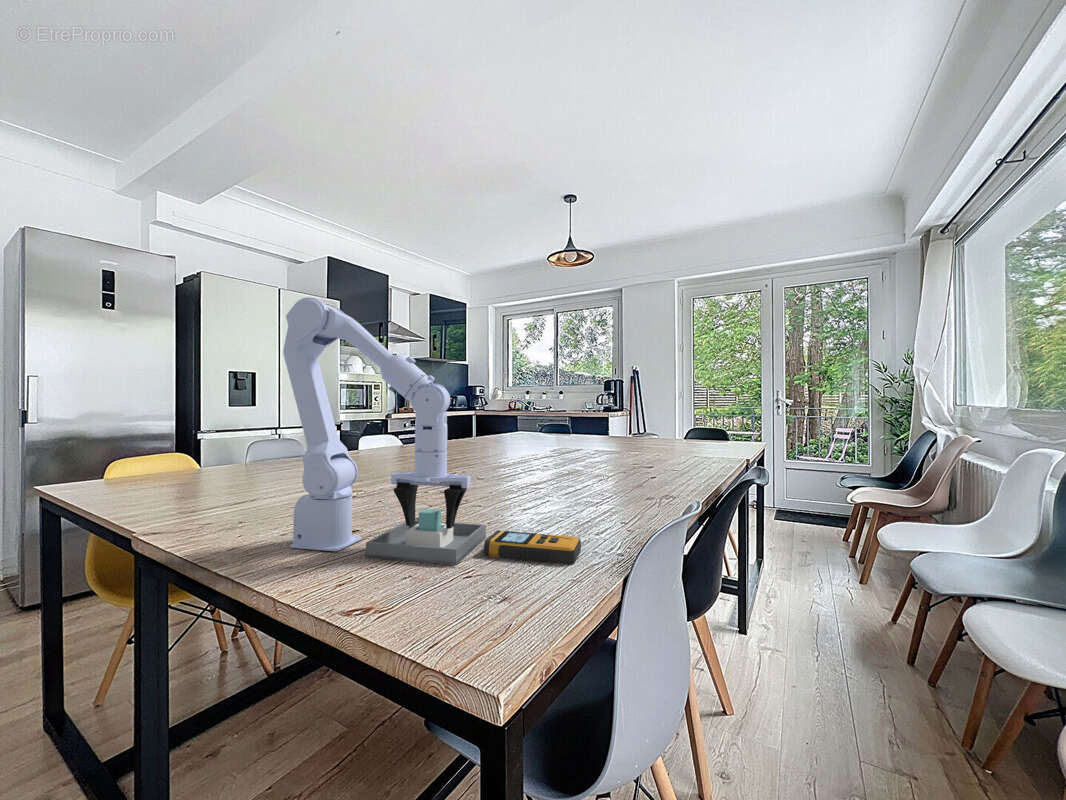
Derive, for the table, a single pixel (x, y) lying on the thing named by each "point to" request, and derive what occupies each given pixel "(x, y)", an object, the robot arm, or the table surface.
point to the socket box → (427, 543)
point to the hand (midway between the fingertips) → (430, 525)
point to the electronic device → (533, 547)
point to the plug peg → (430, 520)
